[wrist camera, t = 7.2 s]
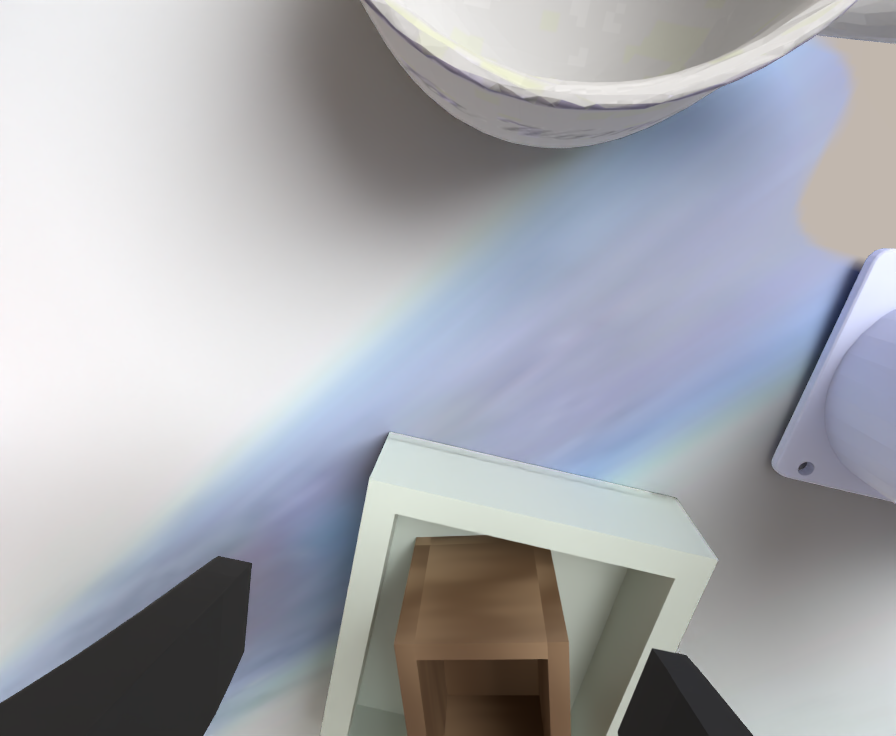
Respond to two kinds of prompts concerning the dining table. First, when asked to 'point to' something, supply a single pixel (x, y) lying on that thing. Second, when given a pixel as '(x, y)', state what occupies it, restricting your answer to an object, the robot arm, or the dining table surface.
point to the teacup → (600, 56)
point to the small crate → (482, 640)
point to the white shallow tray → (529, 522)
